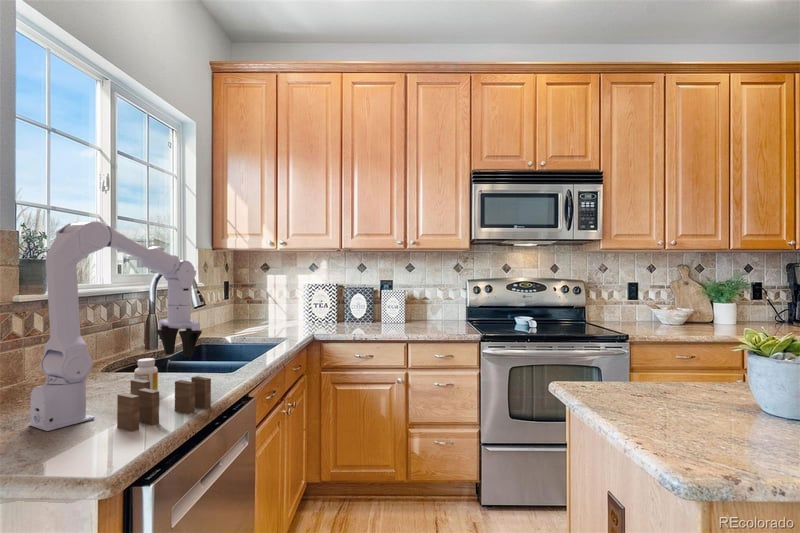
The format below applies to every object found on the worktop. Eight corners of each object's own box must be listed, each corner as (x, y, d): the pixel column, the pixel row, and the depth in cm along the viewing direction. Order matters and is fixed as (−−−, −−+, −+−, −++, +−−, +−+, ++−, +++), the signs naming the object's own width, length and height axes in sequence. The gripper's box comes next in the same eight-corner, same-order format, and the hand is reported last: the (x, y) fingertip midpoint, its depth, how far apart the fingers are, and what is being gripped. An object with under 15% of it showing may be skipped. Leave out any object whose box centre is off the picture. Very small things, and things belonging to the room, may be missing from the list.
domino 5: (205, 409, 114) (205, 379, 114) (191, 406, 116) (191, 377, 116) (210, 407, 115) (210, 378, 115) (196, 404, 118) (197, 376, 118)
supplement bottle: (152, 392, 128) (152, 356, 128) (161, 396, 125) (161, 359, 125) (130, 397, 124) (130, 359, 124) (139, 400, 121) (139, 362, 121)
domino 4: (188, 414, 110) (188, 383, 110) (174, 411, 112) (174, 381, 112) (194, 412, 111) (194, 382, 111) (180, 409, 114) (180, 379, 114)
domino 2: (143, 412, 111) (143, 382, 111) (130, 409, 113) (130, 380, 113) (149, 411, 112) (150, 381, 112) (136, 408, 114) (137, 378, 114)
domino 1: (131, 431, 98) (131, 397, 98) (117, 427, 100) (117, 394, 100) (139, 429, 99) (139, 395, 99) (124, 425, 102) (124, 392, 102)
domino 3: (152, 425, 102) (152, 392, 102) (137, 421, 104) (138, 389, 104) (159, 423, 103) (159, 391, 103) (144, 419, 106) (145, 388, 106)
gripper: (210, 305, 128) (209, 355, 128) (175, 303, 135) (174, 350, 135) (187, 307, 122) (186, 360, 122) (151, 304, 129) (151, 354, 129)
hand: (178, 355), depth 128 cm, fingers open, 7 cm apart
